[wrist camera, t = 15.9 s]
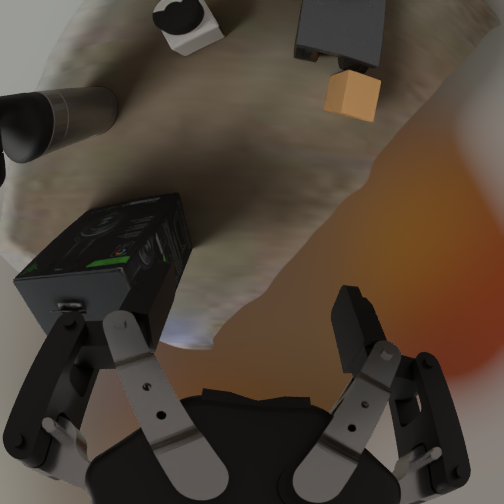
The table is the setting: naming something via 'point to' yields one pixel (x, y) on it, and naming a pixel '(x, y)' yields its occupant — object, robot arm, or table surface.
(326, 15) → the trolley
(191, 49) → the medicine bottle
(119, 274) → the headset box
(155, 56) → the table surface
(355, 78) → the light orange block
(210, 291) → the table surface
